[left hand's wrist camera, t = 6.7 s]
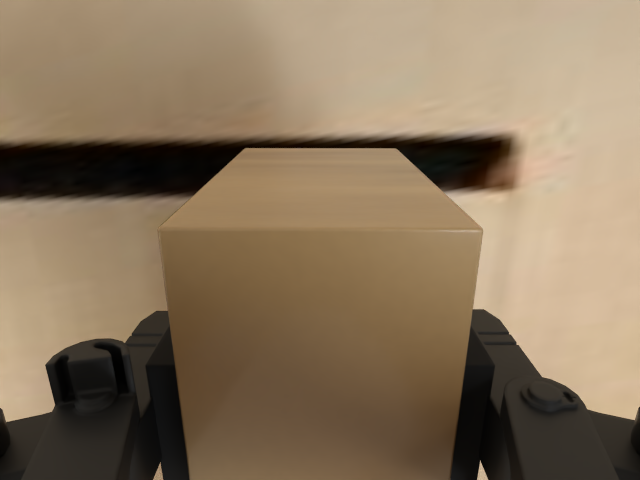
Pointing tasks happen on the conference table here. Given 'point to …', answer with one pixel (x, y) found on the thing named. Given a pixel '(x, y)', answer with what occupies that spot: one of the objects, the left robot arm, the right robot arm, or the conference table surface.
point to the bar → (320, 317)
